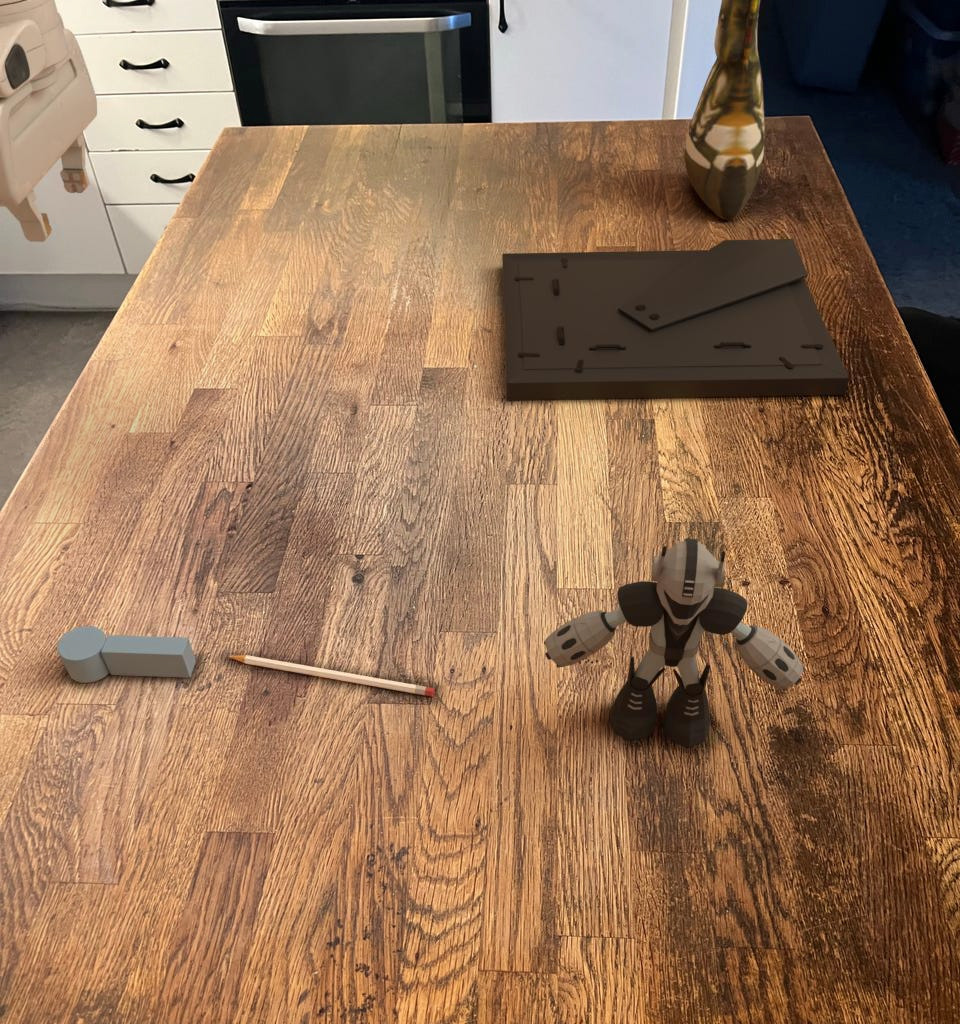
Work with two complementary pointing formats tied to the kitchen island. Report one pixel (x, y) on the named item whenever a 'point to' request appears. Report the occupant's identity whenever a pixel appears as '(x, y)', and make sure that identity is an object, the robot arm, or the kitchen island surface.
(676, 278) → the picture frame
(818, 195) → the kitchen island surface
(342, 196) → the kitchen island surface
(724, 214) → the statue
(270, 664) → the pencil
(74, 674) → the grey mallet
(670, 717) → the robot
